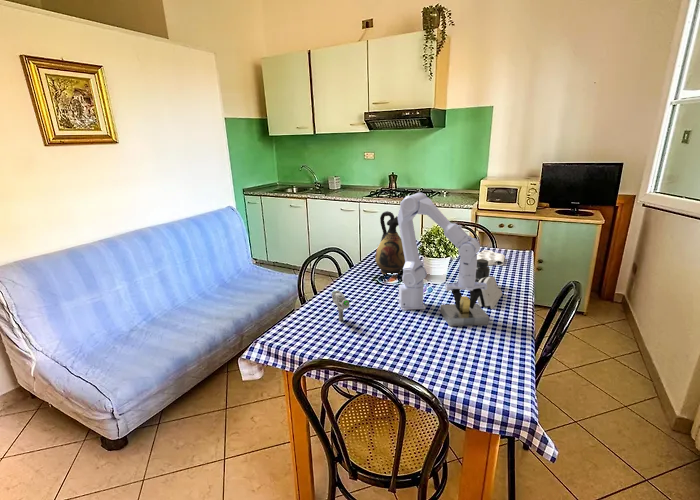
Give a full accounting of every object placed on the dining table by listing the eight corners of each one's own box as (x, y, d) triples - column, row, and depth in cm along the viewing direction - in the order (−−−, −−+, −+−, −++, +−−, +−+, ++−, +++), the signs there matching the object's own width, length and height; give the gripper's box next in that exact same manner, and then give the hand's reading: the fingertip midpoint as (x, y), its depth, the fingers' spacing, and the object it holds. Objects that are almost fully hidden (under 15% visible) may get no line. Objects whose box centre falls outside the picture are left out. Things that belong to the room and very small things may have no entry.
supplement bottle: (471, 288, 160) (473, 262, 156) (472, 282, 166) (474, 257, 162) (487, 290, 157) (490, 264, 154) (488, 284, 163) (491, 259, 160)
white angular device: (492, 309, 140) (485, 285, 139) (479, 310, 143) (473, 286, 142) (502, 294, 153) (496, 271, 152) (491, 295, 156) (485, 273, 155)
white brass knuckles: (502, 268, 183) (472, 265, 189) (504, 257, 198) (476, 254, 204) (503, 262, 182) (472, 258, 188) (505, 252, 197) (477, 248, 203)
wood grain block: (461, 320, 133) (463, 300, 130) (459, 316, 136) (460, 296, 133) (468, 320, 133) (470, 300, 130) (465, 315, 136) (467, 296, 133)
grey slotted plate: (449, 326, 129) (449, 318, 128) (440, 311, 139) (440, 304, 138) (488, 324, 129) (489, 317, 128) (476, 310, 140) (477, 303, 139)
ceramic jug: (411, 270, 182) (413, 210, 173) (398, 280, 170) (400, 217, 161) (381, 264, 191) (382, 207, 182) (366, 273, 178) (366, 213, 169)
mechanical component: (343, 327, 130) (343, 301, 126) (331, 315, 138) (330, 291, 135) (351, 325, 131) (350, 299, 128) (338, 313, 140) (337, 289, 136)
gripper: (450, 277, 125) (448, 313, 129) (492, 276, 125) (488, 312, 130) (444, 270, 132) (442, 304, 136) (484, 269, 132) (480, 303, 136)
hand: (464, 307), depth 133 cm, fingers open, 4 cm apart
